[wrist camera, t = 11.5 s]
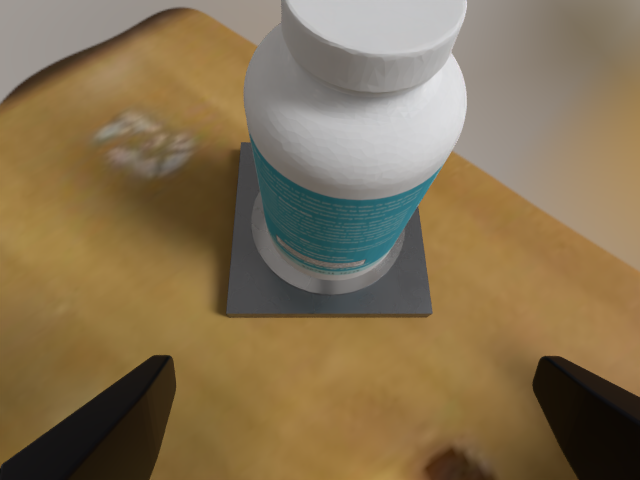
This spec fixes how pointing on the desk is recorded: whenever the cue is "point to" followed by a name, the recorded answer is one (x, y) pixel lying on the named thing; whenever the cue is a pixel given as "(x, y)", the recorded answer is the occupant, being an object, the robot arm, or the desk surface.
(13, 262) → the desk surface
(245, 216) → the flange plate
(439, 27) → the pill bottle
